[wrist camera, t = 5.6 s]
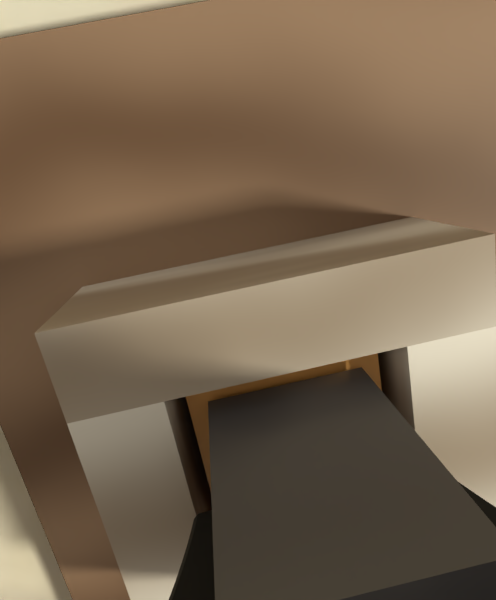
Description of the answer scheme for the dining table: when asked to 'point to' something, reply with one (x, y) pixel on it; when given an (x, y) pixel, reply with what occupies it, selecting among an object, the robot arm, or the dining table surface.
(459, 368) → the socket
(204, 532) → the robot arm
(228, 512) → the plug
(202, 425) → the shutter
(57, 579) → the dining table surface
